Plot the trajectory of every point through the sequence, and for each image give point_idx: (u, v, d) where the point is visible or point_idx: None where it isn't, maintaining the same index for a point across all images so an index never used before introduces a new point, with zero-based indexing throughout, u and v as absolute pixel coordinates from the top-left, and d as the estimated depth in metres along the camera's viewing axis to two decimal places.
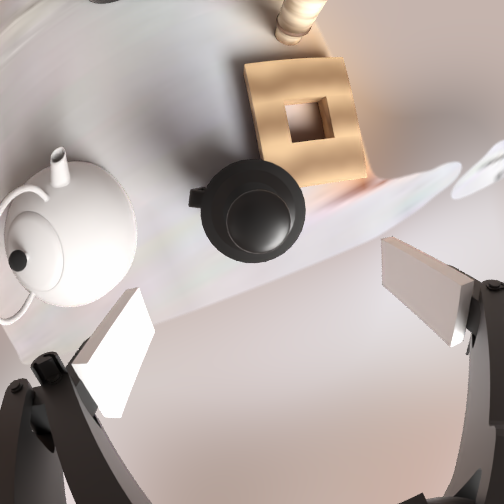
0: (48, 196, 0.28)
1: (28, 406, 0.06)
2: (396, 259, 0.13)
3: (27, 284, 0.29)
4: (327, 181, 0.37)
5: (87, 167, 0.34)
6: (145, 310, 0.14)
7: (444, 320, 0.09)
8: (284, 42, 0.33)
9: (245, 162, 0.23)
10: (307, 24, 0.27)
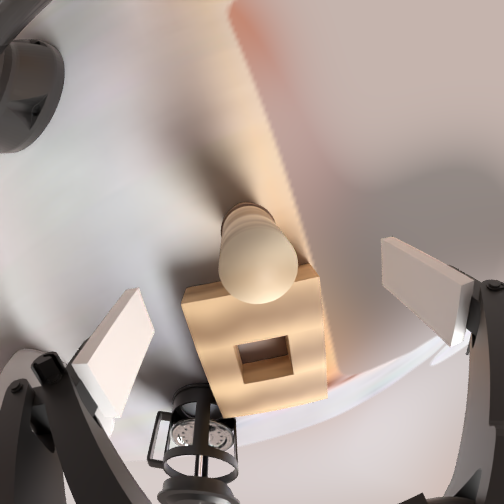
0: None
1: (28, 406, 0.06)
2: (396, 259, 0.13)
3: None
4: (282, 407, 0.33)
5: None
6: (145, 309, 0.14)
7: (444, 320, 0.09)
8: None
9: (184, 490, 0.19)
10: None
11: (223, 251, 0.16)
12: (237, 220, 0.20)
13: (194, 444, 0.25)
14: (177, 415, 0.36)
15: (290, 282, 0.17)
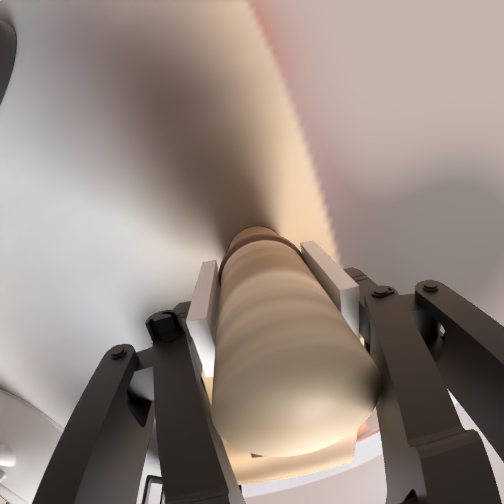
0: (4, 475, 0.14)
1: (128, 376, 0.08)
2: (308, 262, 0.15)
3: None
4: (298, 475, 0.23)
5: (24, 425, 0.21)
6: None
7: None
8: None
9: None
10: None
11: (221, 390, 0.06)
12: (249, 285, 0.10)
13: None
14: None
15: (358, 422, 0.07)
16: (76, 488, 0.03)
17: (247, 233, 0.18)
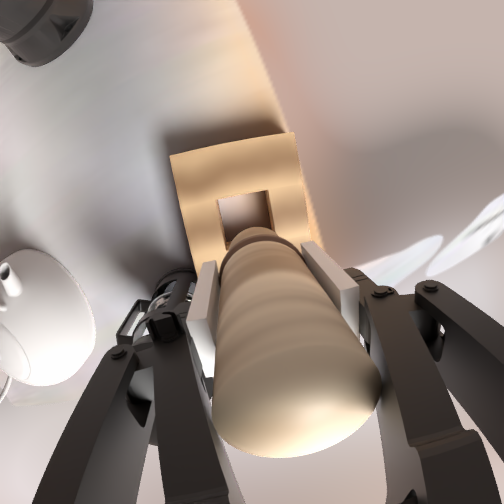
0: (5, 307, 0.26)
1: (128, 376, 0.08)
2: (308, 262, 0.15)
3: (4, 372, 0.27)
4: None
5: (39, 265, 0.32)
6: None
7: None
8: None
9: (145, 345, 0.21)
10: None
11: (221, 391, 0.06)
12: (249, 286, 0.10)
13: (167, 306, 0.27)
14: None
15: (358, 423, 0.07)
16: (76, 488, 0.03)
17: (247, 234, 0.18)
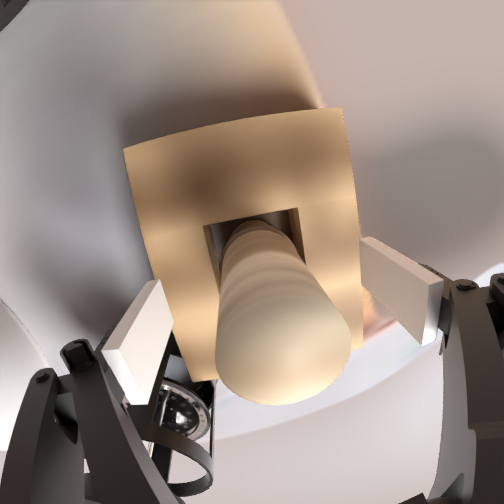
0: None
1: (53, 396, 0.07)
2: (372, 258, 0.13)
3: None
4: None
5: None
6: (166, 300, 0.15)
7: (415, 319, 0.10)
8: None
9: (91, 502, 0.07)
10: None
11: (223, 335, 0.08)
12: (245, 262, 0.12)
13: None
14: None
15: (335, 373, 0.09)
16: (27, 500, 0.03)
17: (245, 226, 0.20)
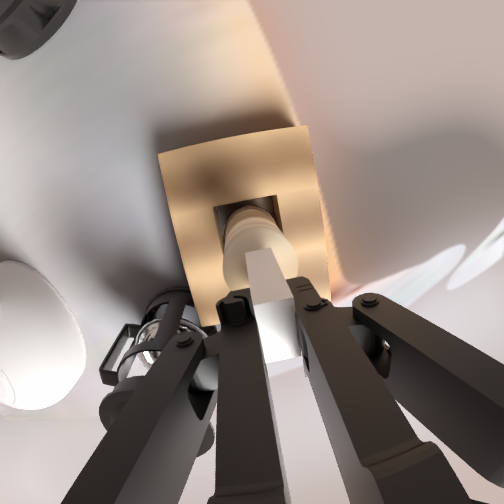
0: None
1: (193, 367, 0.08)
2: None
3: None
4: None
5: (20, 280, 0.27)
6: None
7: None
8: None
9: (128, 392, 0.16)
10: None
11: (227, 252, 0.17)
12: (240, 223, 0.20)
13: (156, 339, 0.22)
14: None
15: None
16: (120, 485, 0.04)
17: None
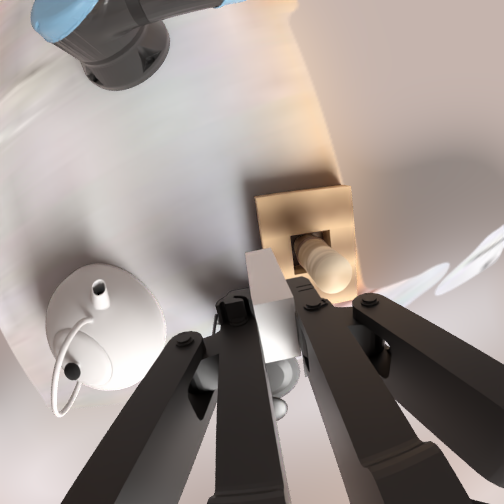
0: (93, 319, 0.35)
1: (193, 367, 0.08)
2: None
3: (76, 379, 0.36)
4: None
5: (121, 280, 0.42)
6: None
7: None
8: None
9: None
10: None
11: (318, 266, 0.32)
12: (317, 249, 0.35)
13: None
14: None
15: (347, 282, 0.32)
16: (120, 485, 0.04)
17: (304, 236, 0.44)
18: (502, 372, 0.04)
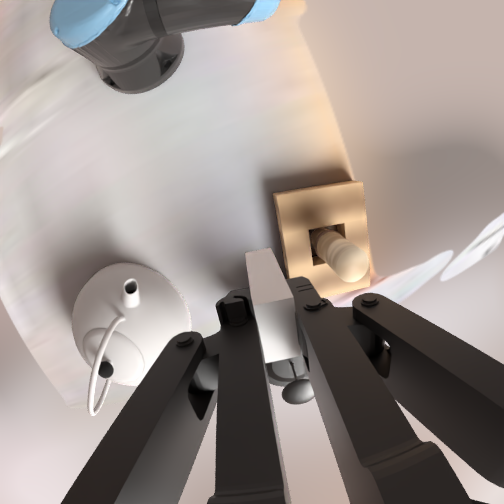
0: (124, 317, 0.38)
1: (193, 367, 0.08)
2: None
3: None
4: (338, 292, 0.47)
5: (148, 278, 0.45)
6: None
7: None
8: None
9: None
10: None
11: (339, 258, 0.34)
12: (336, 242, 0.38)
13: None
14: None
15: (365, 271, 0.35)
16: (120, 485, 0.04)
17: (320, 229, 0.46)
18: (502, 372, 0.04)
